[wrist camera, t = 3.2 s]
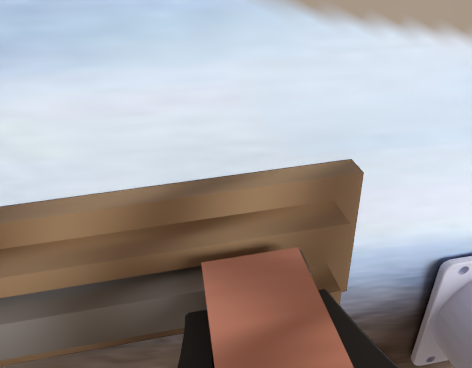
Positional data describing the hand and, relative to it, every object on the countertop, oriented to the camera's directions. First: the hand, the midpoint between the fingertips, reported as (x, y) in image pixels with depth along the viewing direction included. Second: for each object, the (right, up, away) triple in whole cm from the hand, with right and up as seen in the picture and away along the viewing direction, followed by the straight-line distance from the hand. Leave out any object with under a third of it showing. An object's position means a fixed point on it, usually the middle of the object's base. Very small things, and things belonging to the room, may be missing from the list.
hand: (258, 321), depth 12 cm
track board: (-3, +2, +3) cm, 5 cm away
